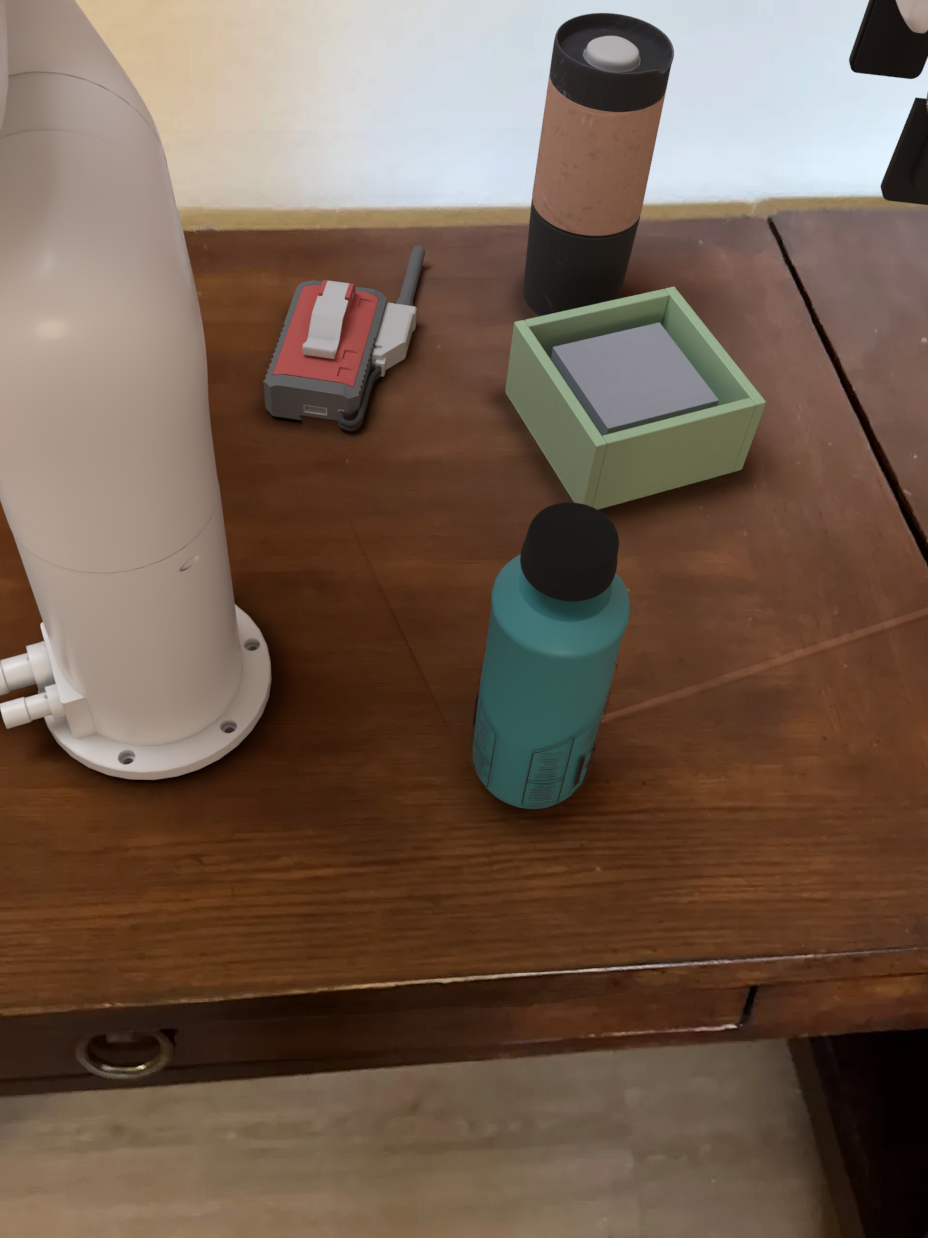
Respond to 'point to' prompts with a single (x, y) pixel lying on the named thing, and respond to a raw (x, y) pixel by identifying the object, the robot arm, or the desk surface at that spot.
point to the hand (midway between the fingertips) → (899, 132)
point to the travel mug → (593, 158)
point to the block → (632, 378)
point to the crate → (641, 453)
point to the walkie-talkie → (339, 347)
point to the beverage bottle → (549, 657)
